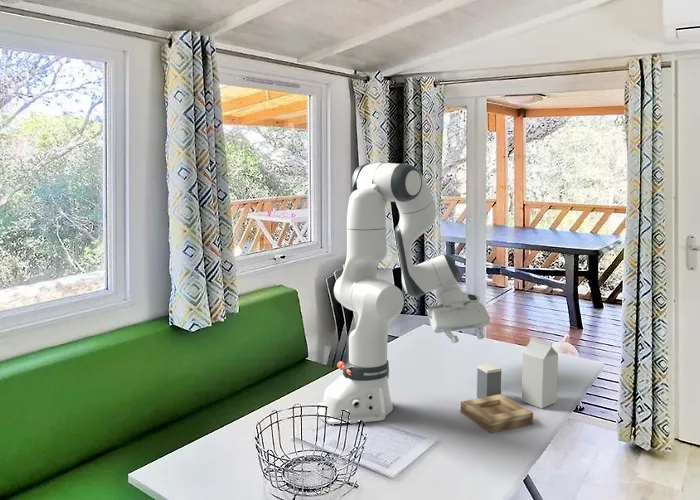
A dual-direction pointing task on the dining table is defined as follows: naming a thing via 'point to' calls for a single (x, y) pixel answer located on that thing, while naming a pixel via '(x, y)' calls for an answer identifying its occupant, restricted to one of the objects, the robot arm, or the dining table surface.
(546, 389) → the milk carton
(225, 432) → the dining table surface
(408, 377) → the dining table surface
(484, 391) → the plain greyish beige box
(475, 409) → the square wooden tray
